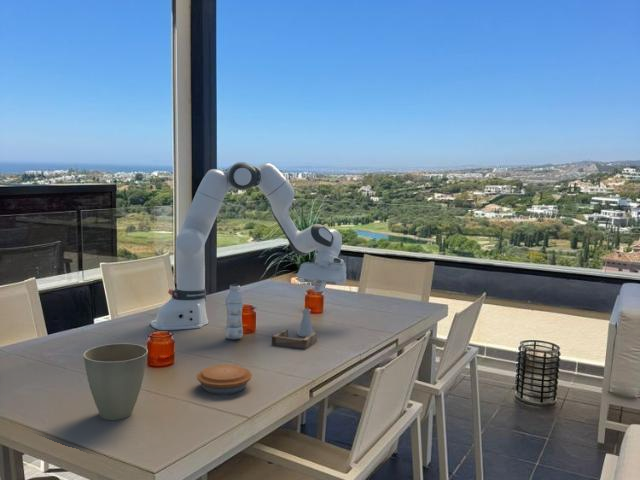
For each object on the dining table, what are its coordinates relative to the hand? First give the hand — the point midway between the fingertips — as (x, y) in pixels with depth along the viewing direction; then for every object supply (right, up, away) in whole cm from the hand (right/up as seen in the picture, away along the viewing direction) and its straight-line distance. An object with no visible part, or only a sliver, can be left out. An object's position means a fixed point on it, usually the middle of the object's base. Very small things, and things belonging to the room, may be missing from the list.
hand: (317, 291), depth 232 cm
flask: (-4, -16, -9) cm, 19 cm away
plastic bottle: (-31, -16, -18) cm, 39 cm away
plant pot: (-49, -23, -88) cm, 104 cm away
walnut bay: (-8, -17, -20) cm, 27 cm away
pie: (-26, -22, -67) cm, 75 cm away
